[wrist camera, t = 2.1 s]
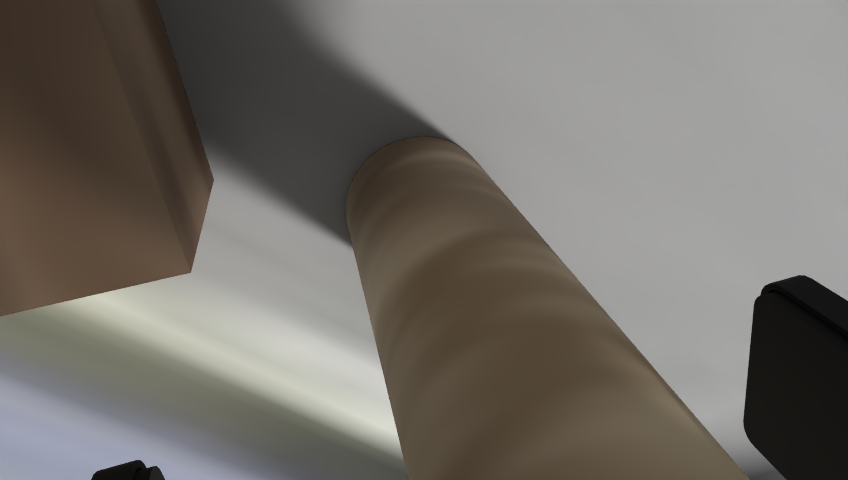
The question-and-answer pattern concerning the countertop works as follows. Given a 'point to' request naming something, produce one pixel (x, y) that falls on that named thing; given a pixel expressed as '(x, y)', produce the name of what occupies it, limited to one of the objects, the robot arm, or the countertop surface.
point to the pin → (503, 339)
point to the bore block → (93, 152)
